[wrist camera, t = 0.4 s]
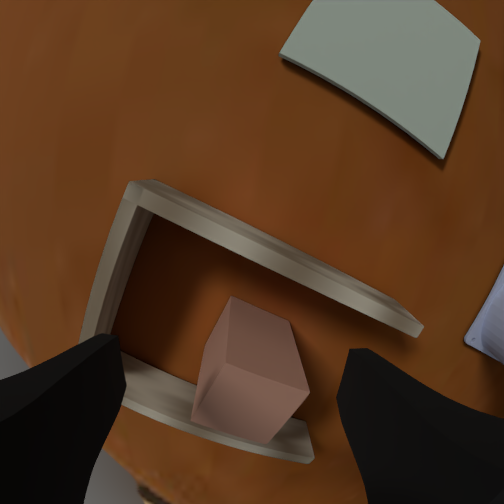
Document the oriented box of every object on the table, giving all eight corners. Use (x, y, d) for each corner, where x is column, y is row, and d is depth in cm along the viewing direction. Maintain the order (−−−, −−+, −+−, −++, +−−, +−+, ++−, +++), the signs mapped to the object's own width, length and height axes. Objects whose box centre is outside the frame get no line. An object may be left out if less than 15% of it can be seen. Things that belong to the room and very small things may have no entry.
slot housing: (395, 299, 19) (424, 326, 15) (300, 427, 21) (308, 463, 17) (154, 179, 16) (129, 181, 12) (95, 346, 19) (72, 378, 15)
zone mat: (476, 42, 14) (480, 40, 13) (439, 159, 16) (443, 159, 16) (348, -48, 12) (349, -52, 12) (278, 55, 15) (279, 52, 14)
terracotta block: (288, 321, 19) (310, 392, 12) (259, 367, 20) (266, 444, 13) (231, 295, 18) (225, 362, 11) (204, 345, 19) (190, 420, 12)
